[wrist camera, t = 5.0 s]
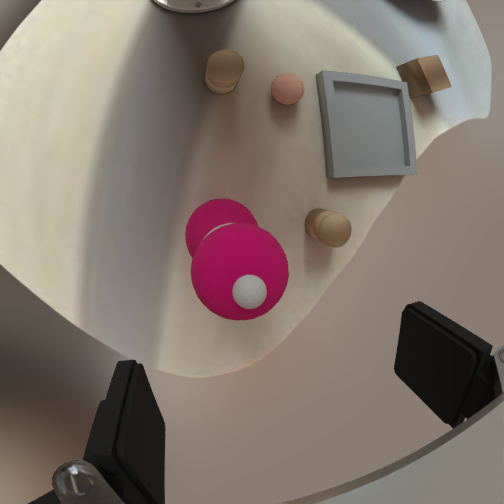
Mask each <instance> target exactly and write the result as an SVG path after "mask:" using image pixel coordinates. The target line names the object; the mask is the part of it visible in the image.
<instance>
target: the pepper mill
mask: <svg viewBox="0 0 504 504" xmlns="http://www.w3.org/2000/svg"><path fill="white" fill-rule="evenodd" d="M185 236H186V244H187V247H188V251H189V253H190V255H191V256H192V258H193V259H192V266H191V278H192V284H193V287H194V289H195V292H196V294H197V296H198V298H199V299H200V300H201V302H202V303H203V304H204V305H205V306H206V307H207V308H208V309H209V310H210V311H212V312H213V313H215V314H217V315H219V316H221V317H223V318H226V319H231V320H249V319H254V318H256V317H259V316H261V315H263V314H265V313H267V312H268V311H269V310H270V309H272V308H273V307H274V306H275V305H276V303H277V302H278V301H279V300H280V298H281V297H282V295H283V293H284V291H285V288H286V286H287V281H288V276H289V273H288V261H287V258H286V255H285V253H284V251H283V249H282V247H281V245H280V244H279V243H278V241H277V240H276V239H275V238H274V237H273V236H272V235H271V234H270V233H269V232H267V231H266V230H264V229H262V228H260V227H258V225H257V222H256V220H255V218H254V217H253V215H252V214H251V212H250V211H249V210H248V209H247V208H246V207H245V206H243V205H242V204H240V203H238V202H236V201H233V200H230V199H215V200H211V201H209V202H206V203H204V204H203V205H201V206H200V207H199V208H197V209H196V210H195V211H194V213H193V214H192V215H191V217H190V219H189V221H188V223H187V227H186V234H185Z"/></svg>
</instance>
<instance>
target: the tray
mask: <svg viewBox="0 0 504 504" xmlns="http://www.w3.org/2000/svg"><path fill="white" fill-rule="evenodd" d="M316 81H317V88H318V95H319V103H320V111H321V119H322V128H323V138H324V148H325V159H326V171H327V177H328V178H340V177H359V176H385V175H417V167H416V151H415V140H414V130H413V121H412V113H411V106H410V99H409V93H408V87H407V82H402V81H397V80H392V79H386V78H380V77H374V76H367V75H360V74H352V73H343V72H333V71H321V72H320V73H318V74H317V75H316Z"/></svg>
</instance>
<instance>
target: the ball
mask: <svg viewBox="0 0 504 504" xmlns="http://www.w3.org/2000/svg"><path fill="white" fill-rule="evenodd" d="M271 92H272V95H273V97H274V98H275V99H276V100H277V101H278V102H280V103H283V104H293V103H296V102H297V101H299V100H300V99H301V97H302V96H303V92H304V87H303V84H302V82H301V80H300V79H299V78H297V77H296V76H294V75H291V74H283V75H280V76H278V77H277V78H276V79H275V80H274V81H273V83H272V86H271Z"/></svg>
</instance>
